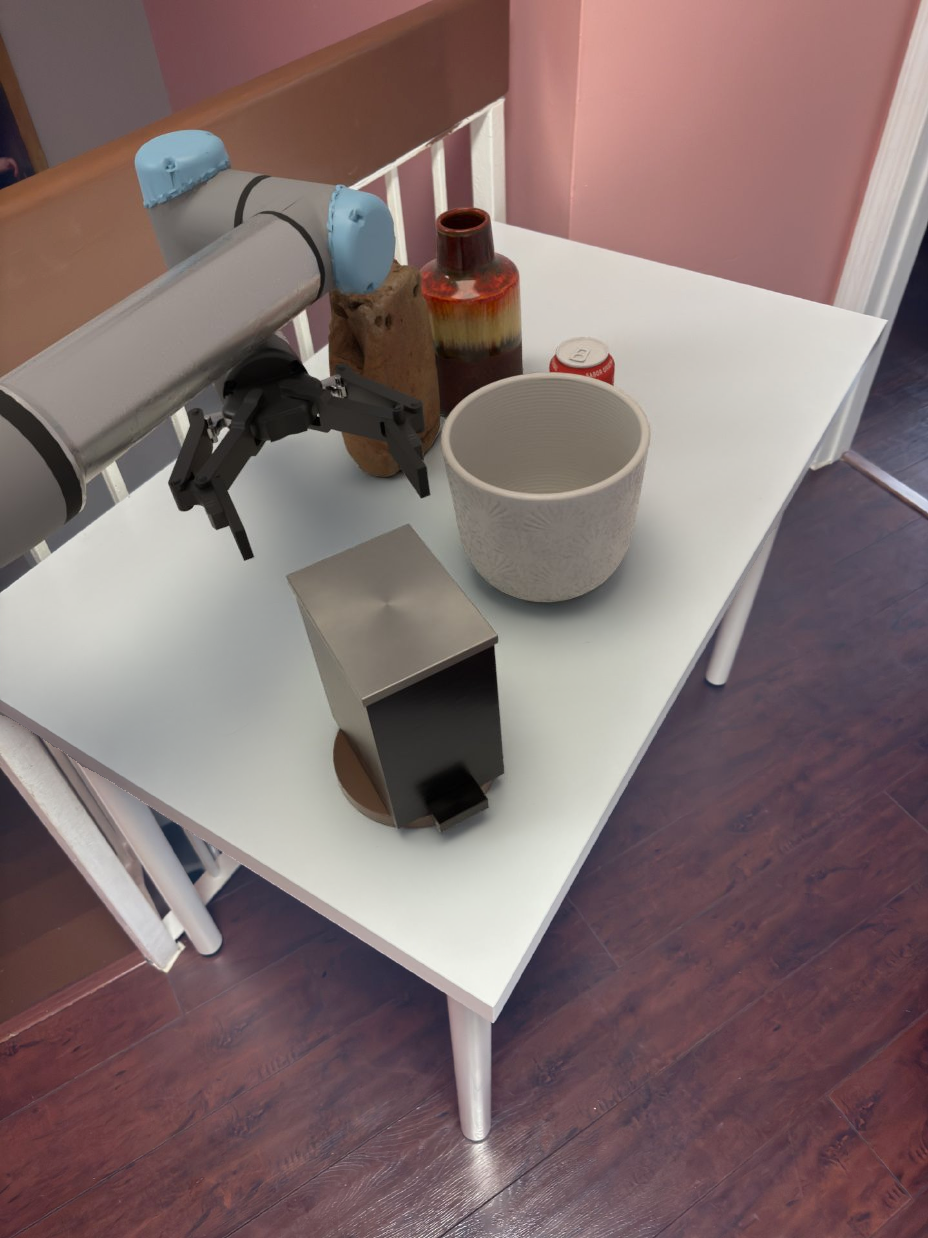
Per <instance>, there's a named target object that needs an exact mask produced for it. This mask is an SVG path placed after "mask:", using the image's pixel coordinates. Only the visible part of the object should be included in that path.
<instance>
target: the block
mask: <svg viewBox="0 0 928 1238" xmlns="http://www.w3.org/2000/svg"><path fill="white" fill-rule="evenodd" d="M328 296H329V297H328V299H329V304H330V317H331V319H330V322H329V324H328V329H329V333H328V337H327V339H328V345H327V347H328V349H327V350H328V370H329V371H328V372H329V377H331V376H334V375H335V370H334V367H335V366H336V365H338V364H347V365H348V366H349V367H350V368H351V369H352V370H353V371H354V372H355V373H356V374H358V375H361V376H363V377H365V378H368V379H370V380H373V381H375V382H377V383H380V384H382V385H385V386H387V387H389V388H392V389H394V390H397V391H399V392H402V393H404V394H406V395H409V396H411V397H414V398H416V399H418V400H421V401H422V403H423V410H424V418H425V426H426V430H425V431H424V432H423V433H420V434H417V435H418V437H419V438H420V439H421V441H422V449H423V454H425V453H426V452H427V451H428V450H429V449H430V448H431V446H432V445H433V443H434V441H435V440H436V438H437V437H438V436H439V432H440V429H441V415H440V399H439V387H438V376H437V369H436V365H435V354H434V345H433V336H432V330H431V324H430V322H429V314H428V307H427V303H426V301H425V299H424V297H423V296H422V279H421V273H420V270H419V268H418V267H417V266H414V265H412V264H402V265H401V264H400V262H399V261H398V260H397V259H395V258H394V259H393V263H392V267H391V269H390V272H389V274H388V276H387V278H386V280H385V281H384V283H383V284H382V285H381V286H380V287H379V288H378V289H377V290H376V291H374V292H372V293H368V294H355V293H350V294H348V295H346V294H342V293H341V292H340V291H338V290H332V291H329V292H328ZM333 396H334V395H333ZM341 436H342V440H343V443H344V446H345V448H346V451H347V452H348V455H349V456H350V457H351V458H352V460H353V462H354V463H355V464H356V465H357V466H358V468H359V470H360V471H362V473H364V474H367V475H370V476H374V477H379V478H389V477H392V476H393V475H396V474H397V473H399V472H400V471H402V470H401V468H400V467H399V465H398V464H397V463H396V461H395V460H394V458H393V457H392V455H391V454H390V452H389V449H388V443H387V442H384V441H379V440H375V439H371V438H366V437H362V436H358V435H353V434H349V433H345V432H341Z"/></svg>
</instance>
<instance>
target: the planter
mask: <svg viewBox="0 0 928 1238" xmlns="http://www.w3.org/2000/svg"><path fill="white" fill-rule="evenodd" d="M650 444H651V427H650V422H649V420H648V417H647V415H646V413H645V412H644V410H643V409H642V407H641V406H640V405H639V404H638V402H637V401H636V400H635V399H634V398H633V397H631V396H630V395H629V394H627V393H626V392H624V391H623V390H622V389H620V388H618V387H617V386H615V385H614V386H612V385H610V384H608V383H606V382H603V381H600V380H597V379H594V378H591V377H586V376H582V375H576V374H569V373H555V372H549V371H548V372H547V371H545V372H532V373H525V374H524V373H523V375H518V376H513V377H509V378H505V379H502V380H499V381H496V382H493V383H491V384H488V385H486V386H484V387H482V388H480V389H478V390H476V391H475V392H473V393H471V394H470V395H468V396H467V397H466V398H464V399H463V400H462V401H461V402H460V403H459V404H458V405H456V407H455V408H454V409H453V410H452V411H451V413H450V414H449V416H448V417H447V418H446V419H445V421H444V423H443V425H442V429H441V435H440V447H441V452H442V456H443V457H442V458H443V461H444V466H445V470H446V471H445V472H446V476H447V481H448V485H449V490H450V494H451V500H452V505H453V510H454V514H455V519H456V524H457V529H458V534H459V537H460V542H461V544H462V547H463V549H464V551H465V554H466V556H467V557H468V559H469V562H470V563H471V565H472V566H473V568H475V570H476V571H477V573H478V574H479V575H480V576H481V577H482V578H483V579H484V580H485V581H486V582H487V583H488V584H489V585H491V586H492V587H494V588H495V589H496V590H498V591H500V592H502V593H504V594H506V595H508V596H510V597H513V598H516V599H520V600H524V601H528V602H533V603H557V602H562V601H566V600H571V599H575V598H578V597H580V596H583V595H585V594H587V593H589V592H591V591H593V590H595V589H596V588H598V587H599V586H602V584H603V583H604V582H606V581H607V580H608V579H609V578H610V577H611V576H612V575H613V573H614V572H615V571H616V570H617V568H618V567H619V566H620V564H621V563H622V561H623V559H624V558H625V556H626V553H628V552H627V551H628V549H629V547H630V544H631V541H632V539H633V535H634V531H635V526H636V521H637V514H638V510H639V505H640V498H641V494H642V487H643V483H644V477H645V472H646V465H647V460H648V454H649V450H650V449H649V448H650Z"/></svg>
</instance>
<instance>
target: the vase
mask: <svg viewBox="0 0 928 1238" xmlns="http://www.w3.org/2000/svg"><path fill="white" fill-rule="evenodd" d="M491 219H492V218H491V216H490V214H489V212H488V211H486V210H484V209H482V208H479V207H473V206H460V207H454V208H451V209H448V210H446V211H443V212H442V213H440V214H439V215H438V216H437V218H436V219H435V252H436V257H434V258H433V259H431V260H430V261H428V262H427V263H425V264H424V265H423V266H422V267H421V268H420V270H419V271H420V273H421V279H422V296H423V297H424V299H425V301H426V303H427V307H428V314H429V322H430V324H431V330H432V336H433V345H434V354H435V365H436V369H437V376H438V387H439V399H440V416H442V417H444V418H446V419H447V417H448V416H449V414H450V413H451V411H452V410H453V409H454V408H455V407H456V405H458V404H459V403H460V402H461V401H462V400H463V399H464V398H466V397H467V396H468V395H470V394H471V393H473V392H475V391H476V390H478V389H480V388H482V387H484V386H486V385H488V384H491V383H493V382H496V381H499V380H502V379H505V378H509V377H513V376H518V375H524V366H523V365H524V364H523V363H524V361H523V330H522V329H523V327H522V305H521V304H522V302H521V301H522V300H521V277H520V271H519V269H518V266H517V264H515V262H514V261H513V260H511V259H510V258H509V257H508V256H506V255H504V254H501V253H499V252H496V250H495V242H494V236H493V235H494V234H493V227H492V220H491Z"/></svg>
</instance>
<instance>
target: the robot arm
mask: <svg viewBox="0 0 928 1238" xmlns="http://www.w3.org/2000/svg"><path fill="white" fill-rule="evenodd" d="M227 151H228V150H227V149H226V146H225V144H224V142H223V140H222V139H221V138H220V137H219V136H217V135H215V133H212V132H210V131H207V130H201V129H184V130H177V131H172V132H168V133H164V134H161V135H159V136H156V137H154V138H152V139H150V140H149V141H147V142H145V143H144V144H142V145H141V147H140V148H139V149H138V150H137V152H136V154H135V157H134V168H135V172H136V175H137V180H138V183H139V187H140V190H141V195H142V199H143V202H142V205H143V207H144V209H146V212H147V216H148V218H149V221H150V224H151V226H152V229H153V230H152V231H153V233H154V236H155V238H156V241H157V244H158V246H159V250H160V252H161V255H162V258H163V262H164V264H165V268H166V270H167V271H165V272H164V273H161V275H159V276H157V277H156V278H154V279H152V280H151V281H150V282H148V283H146V284H145V285H144V286H142V287H140V288H139V289H137V290H135V291H134V292H132V293H131V294H130V295H128V296H126V297H124V298H123V299H122V300H120V301H119V302H117V303H115V304H114V305H112V306H111V307H109V308H107V309H106V310H104V311H103V312H101V313H99V314H98V315H96V316H95V317H94V318H92V319H90V320H88V321H87V322H86V323H84V324H83V325H81V326H79V327H78V328H76V329H75V330H73V331H71V332H70V333H69V334H67V335H65V336H63V337H62V338H61V339H58V340H57V341H56V342H55V343H53V344H51V345H49V346H48V347H46V348H45V349H44V350H42V351H40V352H39V353H38V354H37V353H36V354H35V355H34V356H32V357H31V358H30V359H28V360H26V361H25V362H23V363H22V364H19V365H18V366H17V367H15V368H14V369H12V370H10V371H9V372H8V373H5V374H4V375H2V376H1V377H0V569H3V568H4V567H7V566H8V565H9V564H11V563H12V562H14V561H16V560H17V559H19V558H20V557H22V556H24V555H25V554H27V553H28V552H31V550H33V549H35V548H36V547H37V546H38V545H40V544H41V543H42V542H44V541H45V540H47V539H48V538H50V537H51V536H52V535H53V534H56V532H57V531H59V530H60V529H62V528H63V526H65V525H66V524H67V523H69V522H70V521H71V520H72V519H73V518H75V517H76V516H77V515H79V513H80V512H82V510H83V509H84V507H85V506H86V503H87V484H88V483H89V482H91V481H92V480H93V479H94V478H96V477H97V476H98V475H99V474H101V473H102V472H103V471H104V470H106V469H107V468H109V466H111V465H112V464H113V463H115V462H116V461H117V460H119V459H120V458H121V457H122V456H123V455H125V454H126V453H128V452H129V450H132V448H133V447H134V446H136V445H137V444H138V443H140V442H141V441H142V440H144V439H145V437H147V436H149V435H150V434H151V433H152V432H154V431H155V430H156V429H157V428H159V427H160V426H161V425H162V424H163V423H165V422H166V421H167V420H169V419H170V418H171V417H172V416H174V415H175V414H177V412H179V411H180V410H182V408H184V407H185V406H186V405H187V404H189V403H190V402H192V400H194V399H195V398H196V397H198V396H199V395H200V394H201V393H203V392H204V391H205V390H206V389H207V388H208V387H210V386H213V387H214V389H215V392H216V394H217V397H218V398H219V400H220V402H221V404H222V408H221V410H220V411H216V412H212V413H207V414H204V410H203V409H202V408H200V407H193V408H191V409H189V410H188V411H187V418H188V423H189V427H188V430H187V432H186V434H185V437H184V440H183V442H182V444H181V447H180V450H179V452H178V455H177V458H176V460H175V462H174V463H175V464H174V466H173V468H172V471H171V473H170V476H169V479H168V481H167V484H168V487H169V490H170V493H171V494H172V497H173V499H174V502H175V505H176V507H177V509H178V511H179V512H183V513H184V512H185V513H186V512H189V511H191V510H192V509H193V508H194V507H195V506H200V507H203V509H204V511H205V514H206V516H207V519H208V520H209V523H210V524H211V527H212V528H213V529H214V530H215V531H219V530H221V529H222V530H223V529H225V528H227V527H229V529H230V531H231V535H232V536H233V539H234V542H235V543H236V546H237V548H238V550H239V553H240V555H241V557H242V560H243V561H245V562H246V561H248V560H251V559H254V558H255V555H254V552H253V549H252V546H251V543H250V540H249V537H248V535H247V531H246V528H245V527H244V524H243V522H242V519H241V517H240V515H239V513H238V510H237V509H236V506H235V504H234V501H233V500H232V498H231V495H230V493H229V490H230V488H231V487H232V485H233V484H234V482H236V479H237V478H238V476H239V475H240V474H241V472H242V471H243V470H244V468H245V466H246V464H247V463H248V462H249V460H250V459H251V457H257V456H258V454H259V453H260V451H261V450H262V448H263V446H264V445H265V444H266V442H269V441H270V443H274V442H277V441H280V440H283V439H284V438H287V437H288V436H292V435H299V434H302V433H306V432H308V430H312V431H316V432H320V433H323V434H329V433H330V432H331V431H336V432H341V433H342V432H345V433H349V434H353V435H358V436H362V437H366V438H371V439H375V440H379V441H384V442H387V443H388V449H389V452H390V454H391V455H392V457H393V458H394V460H395V461H396V463H397V464H398V465H399V467H400V468H401V470H400V471H401V472H402V473H403V475H404V476H405V478H406V479H407V480H408V482H409V483H410V484H411V486H412V487H413V489H414V491H415V492H416V493H417V495H418V496H419V498H420V499H423V498H426V497H430V496H431V489H430V481H429V475H428V467H427V464H426V463H425V462H424V453H423V449H422V441H421V439H420V438H419V437H418V435H417V434H420V433H423V432H424V431H425V430H426V426H425V418H424V410H423V403H422V401H421V400H418V399H416V398H414V397H411V396H409V395H406V394H404V393H402V392H399V391H397V390H394V389H392V388H389V387H387V386H385V385H382V384H380V383H377V382H375V381H373V380H370V379H368V378H365V377H363V376H361V375H358V374H356V373H355V372H354V371H353V370H352V369H351V368H350V367H349V366H348V365H347V364H338V365H336V366H335V367H334V370H335V375H334V376H331V377H330V376H329V377H326V378H324V379H321V380H320V379H319V378H317V377H315V376H313V375H310V374H309V372H308V370H307V368H306V367H305V365H304V363H303V362H302V361H301V359H300V357H299V356H298V354H297V352H296V351H295V350H294V348H293V347H292V346H291V343H290V341H289V340H288V339H287V337H286V335H285V334H284V332H283V331H282V329H283V328H284V327H286V326H287V325H288V324H289V323H290V322H292V321H293V320H294V319H295V318H297V317H298V316H299V315H300V314H302V313H303V312H305V310H307V309H308V308H309V307H311V306H312V305H314V303H316V302H317V301H318V300H321V298H323V297H324V296H325V295H327V294H328V293H329V291H332V290H338V291H340V292H341V293H342V294H346V295H348V294H350V293H355V294H368V293H372V292H374V291H376V290H377V289H378V288H379V287H380V286H381V285H382V284H383V283H384V281H385V280H386V278H387V276H388V274H389V272H390V269H391V267H392V263H393V259H395V255H396V254H395V252H396V245H397V243H396V241H397V238H396V233H395V222H394V218H393V215H392V213H391V210H390V208H389V207H388V205H387V203H385V201H384V200H383V199H382V198H381V197H379V196H378V195H375V194H373V193H371V192H366V191H362V190H358V189H354V188H349V187H347V186H346V185H345V184H336V185H334V184H328V183H327V184H326V183H321V182H313V181H306V180H299V179H292V178H286V177H279V176H272V175H269V174H263V173H259V172H258V173H257V172H252V171H245V170H239V169H233V168H232V165H231V163H232V161H231V157H229V154H228V152H227ZM333 395H334V396H333ZM224 428H227V429H228V431H227V432H226V434H225V435H224V437H223V438H222V439H221V441H220V442H219V438H218V437H219V435H220V434H221V431H222V430H223V429H224ZM218 442H219V444H218V445H217V446H216V447H215V449H214V444H217V443H218Z"/></svg>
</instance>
